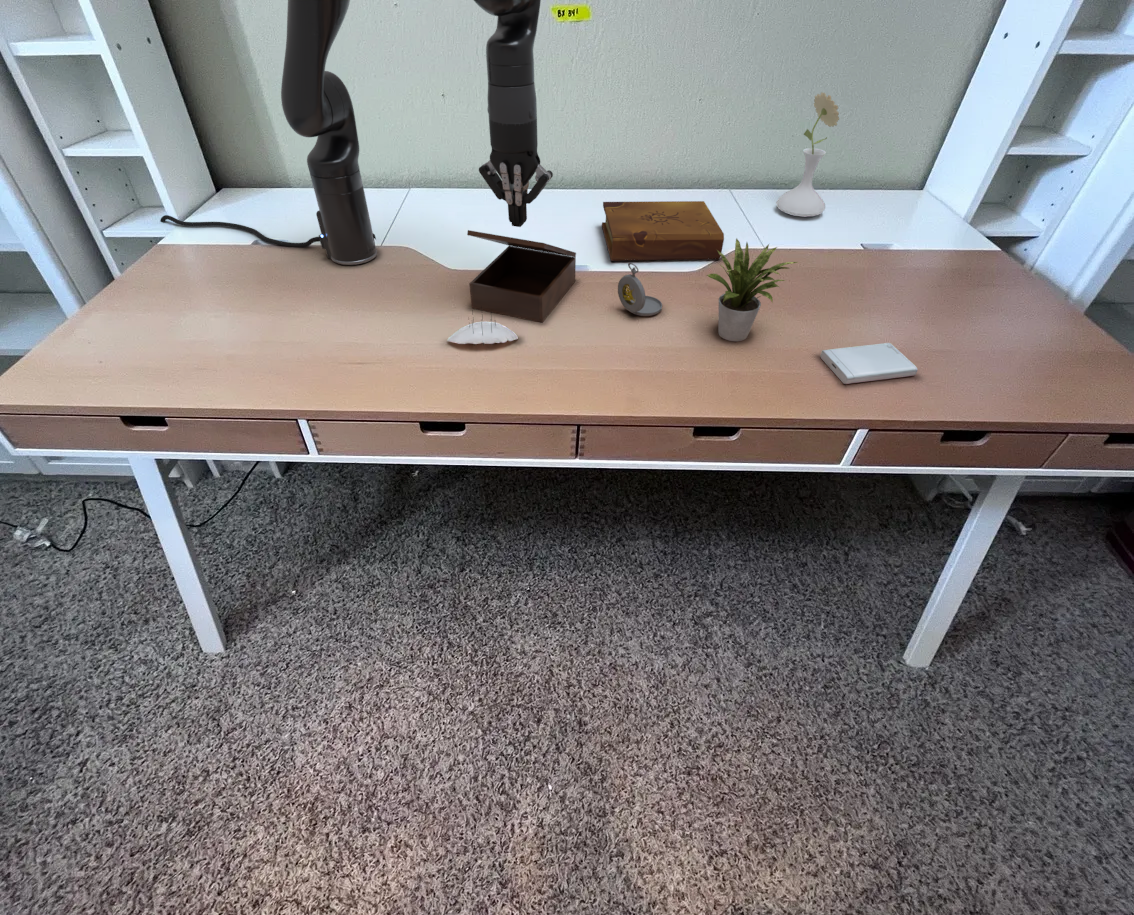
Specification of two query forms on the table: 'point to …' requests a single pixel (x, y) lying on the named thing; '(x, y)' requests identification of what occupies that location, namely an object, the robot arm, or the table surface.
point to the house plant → (743, 292)
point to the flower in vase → (810, 167)
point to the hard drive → (868, 363)
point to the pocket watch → (637, 296)
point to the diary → (661, 231)
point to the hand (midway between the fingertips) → (517, 224)
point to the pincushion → (483, 333)
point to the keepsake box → (523, 283)
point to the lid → (522, 243)
